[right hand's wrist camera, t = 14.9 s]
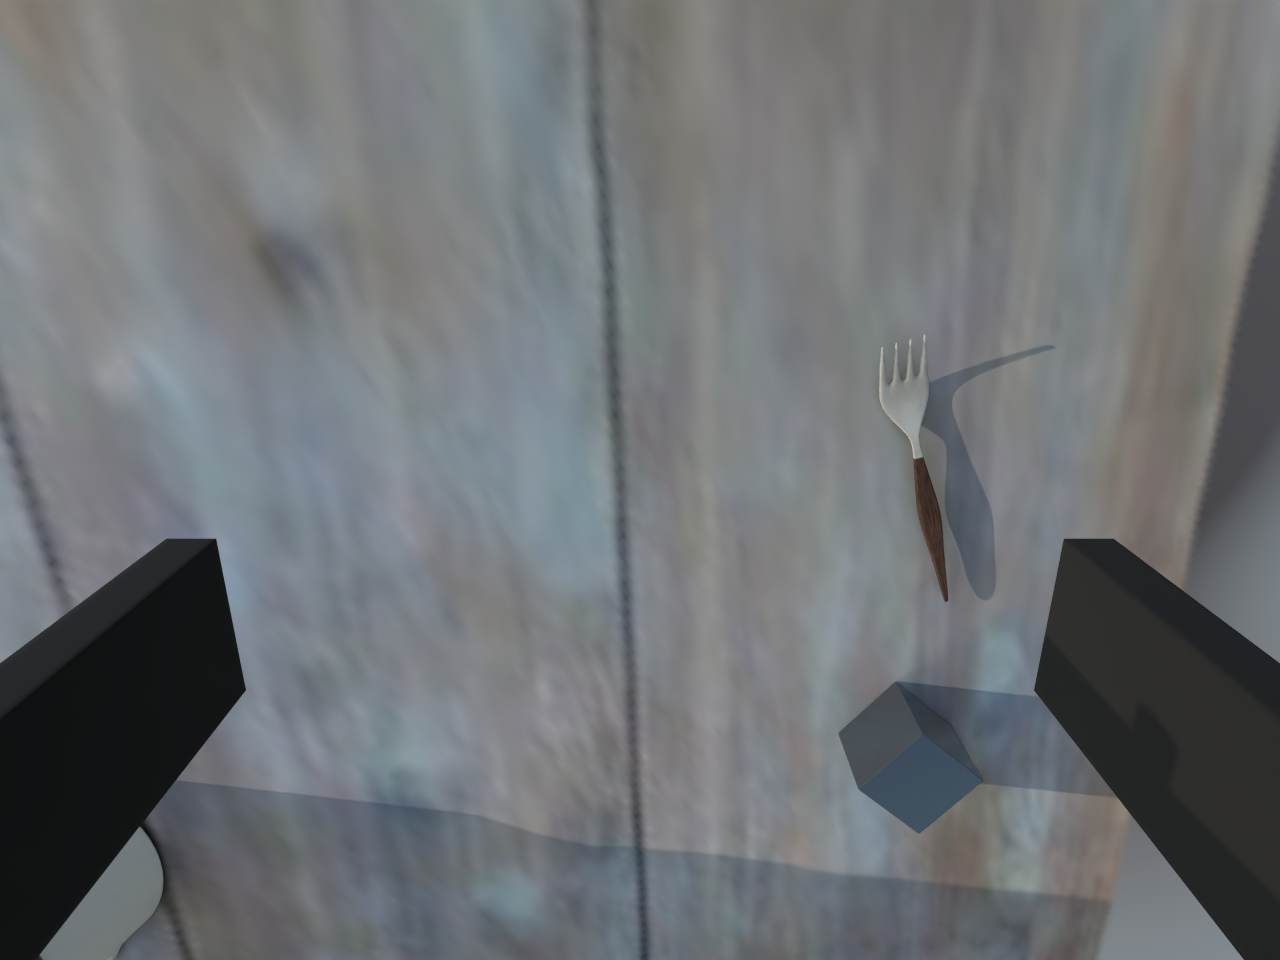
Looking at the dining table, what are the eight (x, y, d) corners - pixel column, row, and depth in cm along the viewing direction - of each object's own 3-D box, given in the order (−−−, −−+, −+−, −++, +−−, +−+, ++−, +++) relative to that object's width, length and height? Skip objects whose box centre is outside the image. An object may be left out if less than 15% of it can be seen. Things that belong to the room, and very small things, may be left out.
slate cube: (896, 680, 49) (923, 733, 44) (952, 724, 50) (984, 780, 46) (837, 733, 50) (858, 789, 46) (893, 775, 52) (918, 834, 47)
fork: (920, 602, 47) (932, 620, 45) (867, 341, 42) (877, 348, 40) (965, 591, 47) (978, 608, 45) (917, 326, 42) (930, 333, 40)
